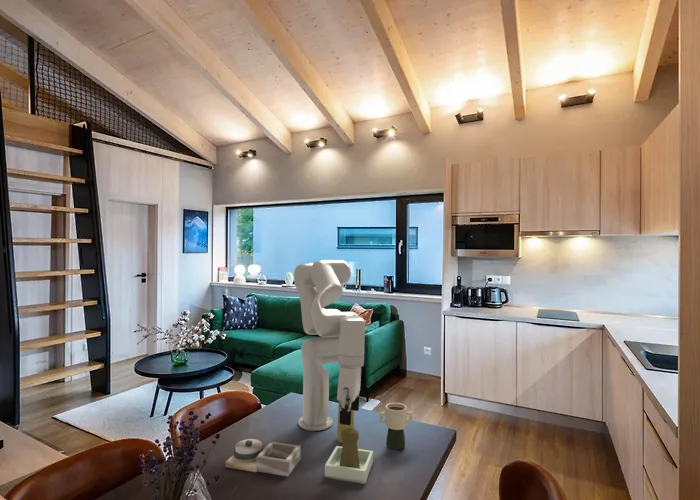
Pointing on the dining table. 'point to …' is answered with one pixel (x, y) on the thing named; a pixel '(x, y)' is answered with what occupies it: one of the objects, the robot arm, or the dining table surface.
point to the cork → (350, 448)
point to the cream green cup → (396, 424)
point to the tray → (348, 473)
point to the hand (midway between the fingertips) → (349, 416)
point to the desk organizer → (264, 457)
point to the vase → (342, 426)
